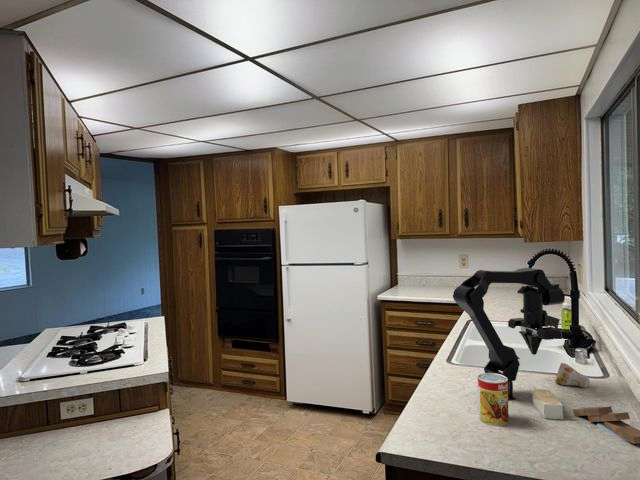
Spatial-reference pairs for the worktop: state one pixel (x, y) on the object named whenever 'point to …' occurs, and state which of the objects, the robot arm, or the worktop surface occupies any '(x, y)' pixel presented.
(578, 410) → the domino
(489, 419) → the canned food
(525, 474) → the worktop surface
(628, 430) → the domino
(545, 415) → the box
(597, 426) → the domino
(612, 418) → the domino
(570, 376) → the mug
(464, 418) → the worktop surface
